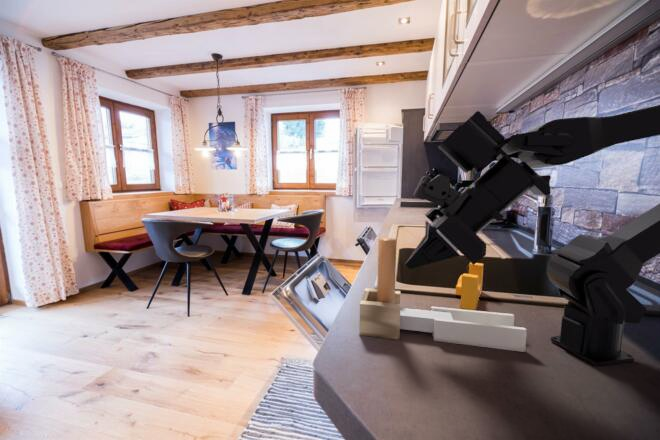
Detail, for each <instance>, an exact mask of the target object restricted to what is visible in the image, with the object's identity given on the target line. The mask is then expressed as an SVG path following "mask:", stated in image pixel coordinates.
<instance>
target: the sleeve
mask: <svg viewBox="0 0 660 440" xmlns="http://www.w3.org/2000/svg"><path fill="white" fill-rule="evenodd" d="M430 311H439V312H449V313H451V315H452V318H453V320H447V319H437V318H434V333H431V334H432V337H433V338H432V339H433V341H435V342H440V343H448V344H449V343H450V344H457V345H465V346H472V347H473V346H475V347H483V348H490V349H497V350H507V351H515V352H523V353H525V352H526V345H527V344H526V343H527V333H528V330H527V328H526V327H522V326H521V327H520V326H515V324H514V323H515V315H514V313H506V312H505V313H504V312H495V311H483V310H476V311H475V310H467V309H463V308H453V307H445V306H444V307H441V306H433V305H432V306H431V307H430Z"/></svg>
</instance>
